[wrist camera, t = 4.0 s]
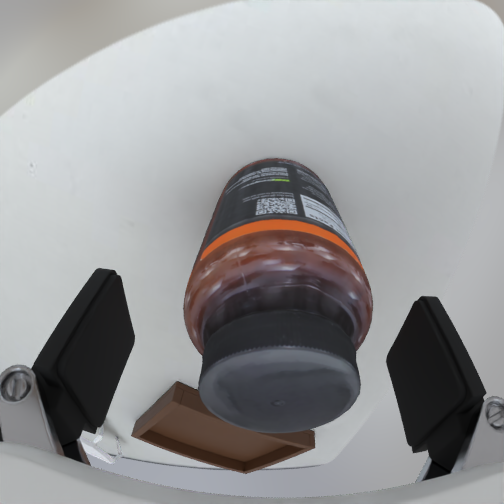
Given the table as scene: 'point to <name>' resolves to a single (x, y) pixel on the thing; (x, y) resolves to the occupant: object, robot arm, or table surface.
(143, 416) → the serving tray
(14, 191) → the table surface
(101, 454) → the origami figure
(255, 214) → the supplement bottle
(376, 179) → the table surface
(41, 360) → the robot arm
